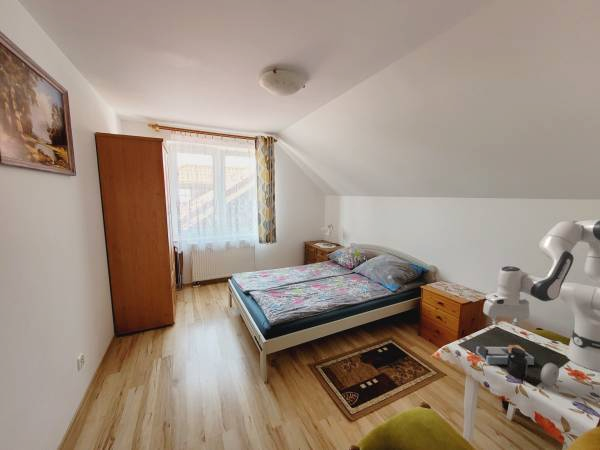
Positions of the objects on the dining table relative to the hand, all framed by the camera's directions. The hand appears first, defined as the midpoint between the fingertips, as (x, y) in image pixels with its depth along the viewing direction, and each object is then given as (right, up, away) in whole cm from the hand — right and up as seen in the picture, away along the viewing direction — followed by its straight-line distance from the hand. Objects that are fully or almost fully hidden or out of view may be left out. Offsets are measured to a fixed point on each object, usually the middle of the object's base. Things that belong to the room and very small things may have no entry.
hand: (504, 324), depth 120 cm
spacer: (+7, -17, +1) cm, 19 cm away
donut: (+6, -20, -16) cm, 26 cm away
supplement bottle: (-3, -20, -9) cm, 22 cm away
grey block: (-5, -17, +2) cm, 18 cm away
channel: (+1, -18, +2) cm, 18 cm away
